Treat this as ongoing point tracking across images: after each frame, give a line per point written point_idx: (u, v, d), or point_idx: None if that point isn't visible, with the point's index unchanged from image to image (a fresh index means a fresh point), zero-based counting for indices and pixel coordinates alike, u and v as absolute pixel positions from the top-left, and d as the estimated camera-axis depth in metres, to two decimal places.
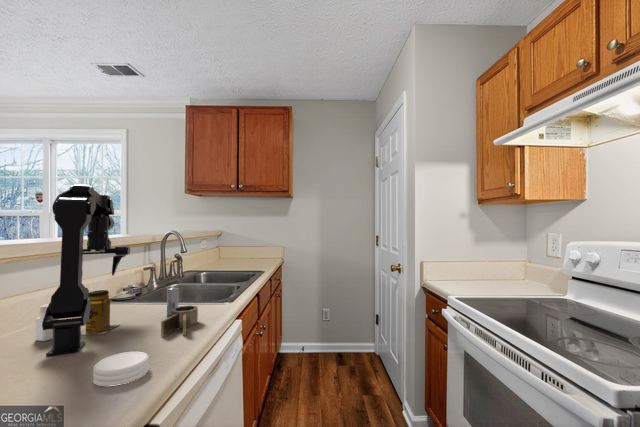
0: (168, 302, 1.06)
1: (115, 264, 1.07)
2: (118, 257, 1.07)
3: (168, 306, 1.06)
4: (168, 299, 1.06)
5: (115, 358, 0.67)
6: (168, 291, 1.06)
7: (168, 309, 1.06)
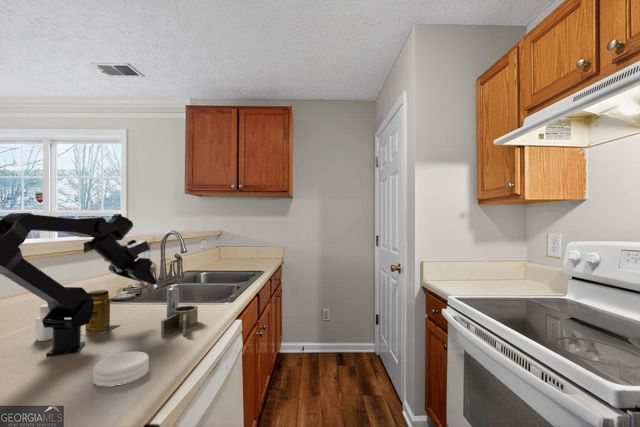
0: (168, 302, 1.06)
1: None
2: (136, 278, 0.93)
3: (168, 306, 1.06)
4: (168, 299, 1.06)
5: (115, 358, 0.67)
6: (168, 291, 1.06)
7: (168, 309, 1.06)
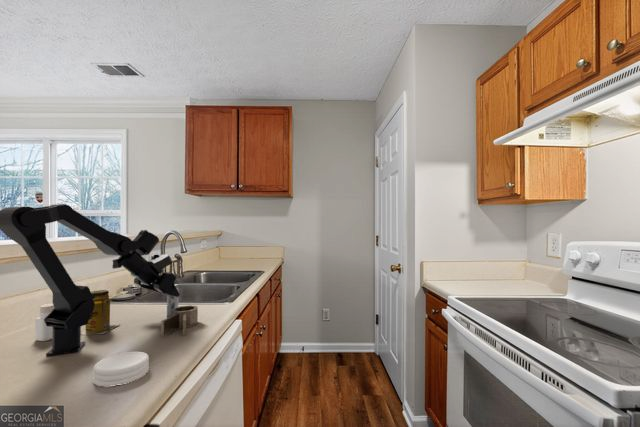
0: (168, 302, 1.06)
1: None
2: (162, 292, 0.99)
3: (168, 306, 1.06)
4: (168, 299, 1.06)
5: (115, 358, 0.67)
6: None
7: (168, 309, 1.06)
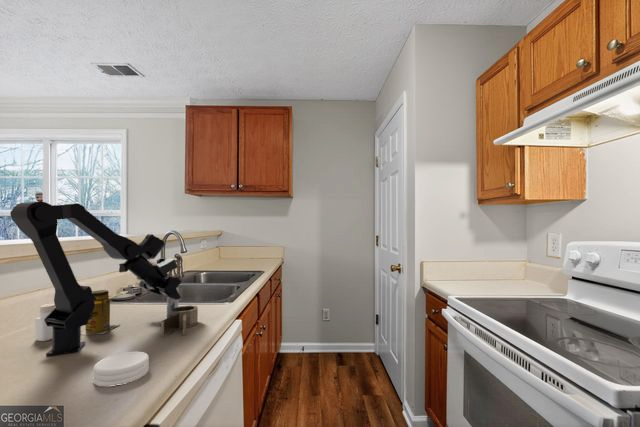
0: (168, 302, 1.06)
1: (169, 296, 1.04)
2: None
3: (168, 306, 1.06)
4: (168, 299, 1.06)
5: (115, 358, 0.67)
6: None
7: (168, 309, 1.06)
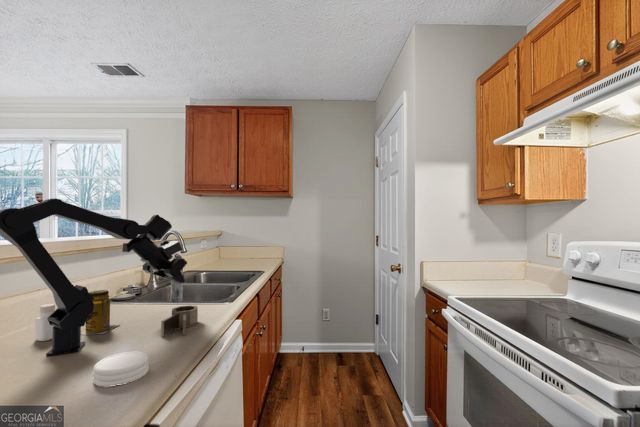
0: (172, 285, 1.04)
1: (173, 279, 1.01)
2: (168, 277, 0.99)
3: (172, 289, 1.04)
4: (172, 282, 1.04)
5: (115, 358, 0.67)
6: None
7: (172, 292, 1.04)
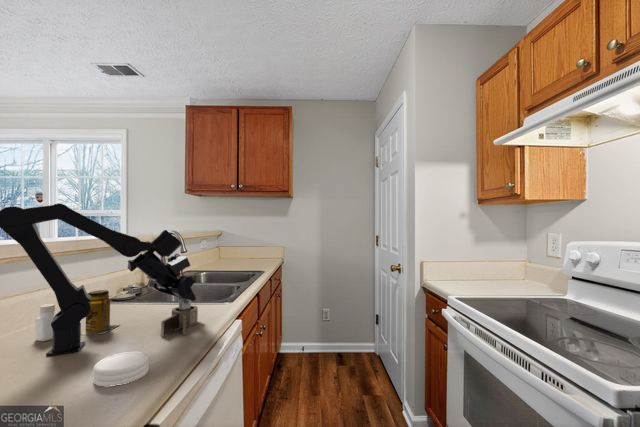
0: (180, 308, 0.99)
1: None
2: (178, 296, 0.93)
3: None
4: (180, 305, 0.99)
5: (115, 358, 0.67)
6: None
7: None
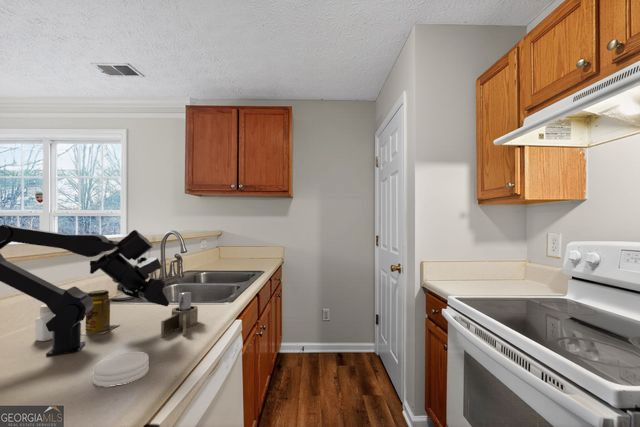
0: (180, 308, 0.99)
1: (155, 303, 0.88)
2: (148, 301, 0.85)
3: None
4: (180, 305, 0.99)
5: (115, 358, 0.67)
6: (180, 296, 0.99)
7: None
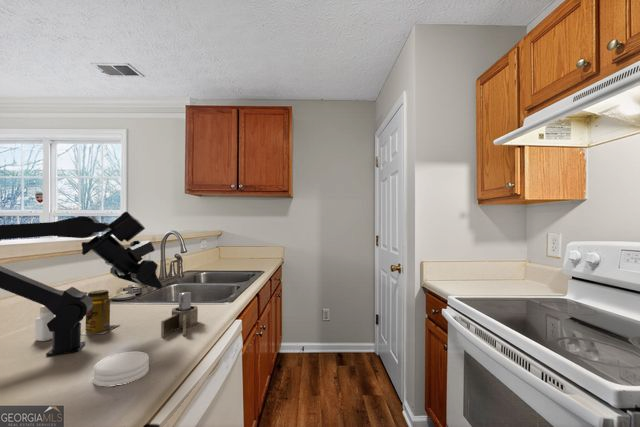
0: (180, 308, 0.99)
1: (147, 285, 0.87)
2: (140, 283, 0.85)
3: None
4: (180, 305, 0.99)
5: (115, 358, 0.67)
6: (180, 296, 0.99)
7: None
